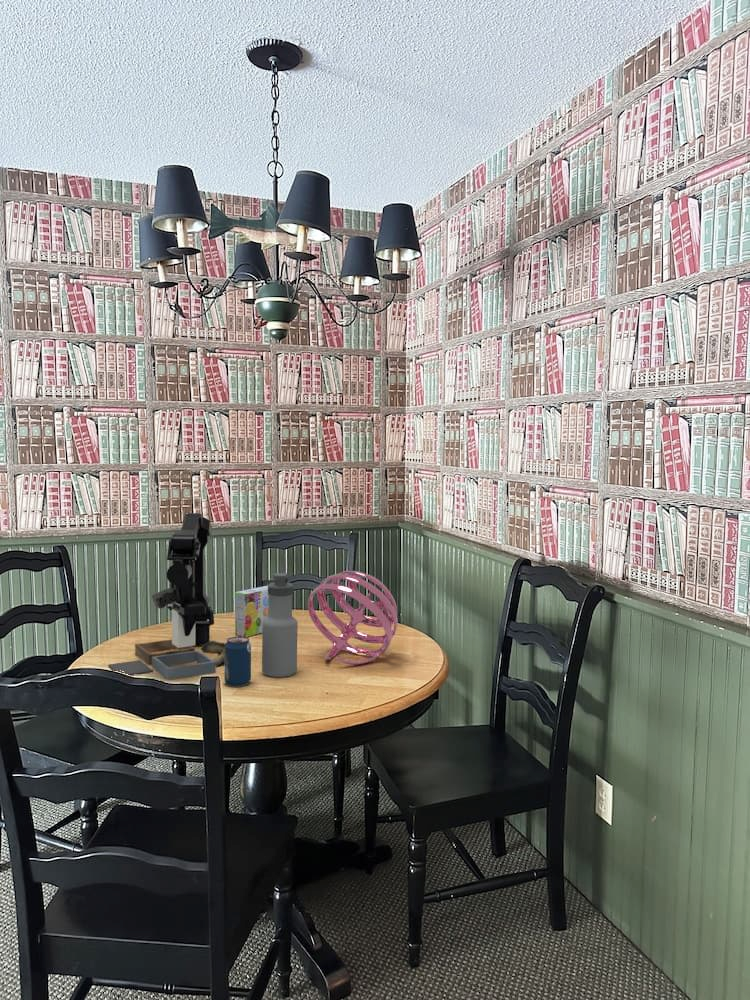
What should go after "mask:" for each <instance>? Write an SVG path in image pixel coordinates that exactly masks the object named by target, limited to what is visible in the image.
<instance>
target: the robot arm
mask: <svg viewBox="0 0 750 1000" xmlns="http://www.w3.org/2000/svg"><path fill="white" fill-rule="evenodd" d="M211 536H212V522H211V520H210V519H208V518H206V517H204V515H203V513H200V512H187V513H185V515H184V519H182V525H181V528H180V530H179V531H175V532H174V533H173V534H172V536H171V537H170V538H169V541H168V548H167V556H166V560H167V561H172V565H170V566H169V567H168V569H167V571H166V579H167V581H168V582H169V587H168V588H166V589H163V590H161V591H159V592H156V593H155V594H152V595H151V599H152V601H153V604H154V607H157V608H158V609H163V608H165V607H166V608H167V609H168V610H169V611H170V612H172V609H175V608H180V613H178V614H179V615H180V616H181V617H182V620H183V627H184V633H185V636H189V635H190V633H191V630H192V628H193V626H194V624H195V646H194V647H199V646H203V645H204V644H205V643H207V642H210V641H211V640H210V638H211V637H210V629H211V628H210V626H213V625H214V624H215V613H214V611H213V608H212V606H211V603H210V599H209V597H208V596H207V593H205V583H206V582H205V568H206V567H205V562H206V561H205V548H206V546H207V545H208V543H209V542H210V538H211ZM168 605H169V606H168Z"/></svg>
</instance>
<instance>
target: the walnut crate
mask: <svg viewBox="0 0 750 1000" xmlns="http://www.w3.org/2000/svg"><path fill="white" fill-rule="evenodd" d="M134 646H135V647H134V651H135V652H134V654H135V655H136V654H137V655H138V656H139V657H138V656H137V655H136V656H137V657H138V658H139V659H141V660H142V659H143V660H144V661H143V660H142V661H143V662H144V663H145V664H146V665H148V664H149V666H152V657H155V656H162V655H169V654H176V653H183V652H190V651H196V648H195V647H194V646H188V647H180V648H177V647H176V646H174V645H173V644H172V639H165V640H158V641H150V642H143V643H134ZM171 649H173V650H171ZM178 649H179V650H178ZM164 650H166V651H164ZM156 651H159V652H156ZM149 652H151V653H149Z"/></svg>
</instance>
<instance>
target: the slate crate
mask: <svg viewBox="0 0 750 1000" xmlns="http://www.w3.org/2000/svg"><path fill="white" fill-rule="evenodd" d="M195 661H197V662H195ZM182 663H183V664H186V665H181V664H182ZM188 663H193V664H188ZM175 665H179V666H175ZM170 666H174V667H170ZM152 667H153V668H154V669H153V670H155V671H156V672H157V673H158V672H159V673H158V674H160V675H161V676H162V677H163V678H165V680H168V681H169V680H176V679H182V678H183V679H184V678H188V677H189V678H191V677H195V676H201V674H202V675H207V674H208V675H209V674H214V673H216V671H217V666H216V662H215V661H214V660H213V659H212V658H211V657H209V656H207V655H206V654H205V653H203V652H201V651H199V649H198V650H195V651H190V652H183V653H176V654H169V655H162V656H155V657H152V665H151V668H152ZM213 672H214V673H213Z"/></svg>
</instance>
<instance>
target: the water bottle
mask: <svg viewBox="0 0 750 1000" xmlns="http://www.w3.org/2000/svg"><path fill="white" fill-rule="evenodd" d="M273 580H274V581H273V582H270V583H269V584H267V586H268V596H269V610H268V617H267V618H265V619H264V621H263V625H262V633H261V634H262V635H261V637H262V638H261V639H262V643H261V647H262V648H261V672H262V673H263V675H265V676H267V677H270V676H271V677H272V678H287V677H291V676H293V675H295V674H296V673H297V669H298V630H299V629H298V625H299V623H298V620H297V619H296V618H295V617H294V616H293V596H294V584H292V583H291V582H289V580H288V572H274V574H273ZM290 675H291V676H290ZM286 676H287V677H286Z"/></svg>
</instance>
